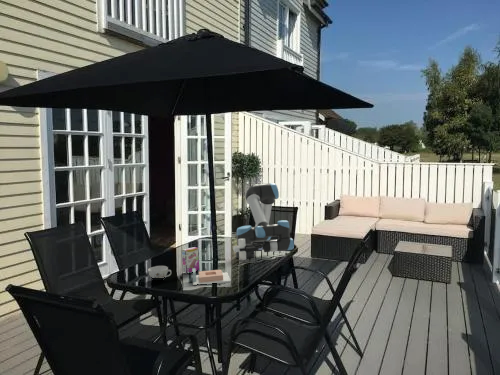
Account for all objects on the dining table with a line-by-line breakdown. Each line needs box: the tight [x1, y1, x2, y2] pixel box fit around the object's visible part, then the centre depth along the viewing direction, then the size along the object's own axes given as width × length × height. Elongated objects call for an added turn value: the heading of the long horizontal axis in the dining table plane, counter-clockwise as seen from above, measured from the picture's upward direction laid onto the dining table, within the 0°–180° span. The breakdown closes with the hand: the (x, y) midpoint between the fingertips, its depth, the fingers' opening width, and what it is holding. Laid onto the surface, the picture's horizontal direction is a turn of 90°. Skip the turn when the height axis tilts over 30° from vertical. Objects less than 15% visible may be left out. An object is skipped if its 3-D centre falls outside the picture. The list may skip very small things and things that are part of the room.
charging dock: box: [192, 268, 232, 286], centre depth 269 cm, size 20×23×7 cm
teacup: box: [147, 265, 172, 279], centre depth 274 cm, size 15×12×8 cm
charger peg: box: [238, 239, 247, 261], centre depth 271 cm, size 4×4×13 cm
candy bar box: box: [181, 246, 200, 273], centre depth 290 cm, size 11×5×16 cm, turn 134°
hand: (233, 249), depth 270 cm, fingers closed on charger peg, 4 cm apart
